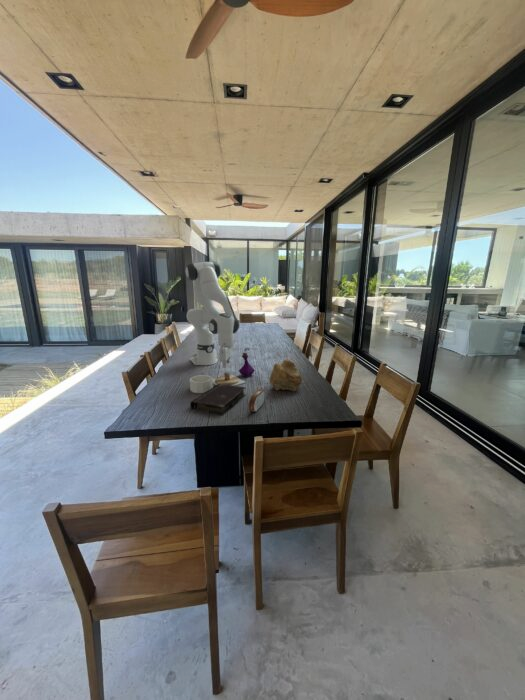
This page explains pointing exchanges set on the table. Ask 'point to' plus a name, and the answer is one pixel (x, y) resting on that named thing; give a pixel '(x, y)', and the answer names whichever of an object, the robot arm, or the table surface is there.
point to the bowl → (201, 383)
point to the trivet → (233, 384)
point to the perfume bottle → (246, 366)
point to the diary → (219, 399)
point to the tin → (257, 400)
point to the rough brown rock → (285, 376)
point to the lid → (227, 379)
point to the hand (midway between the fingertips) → (226, 365)
